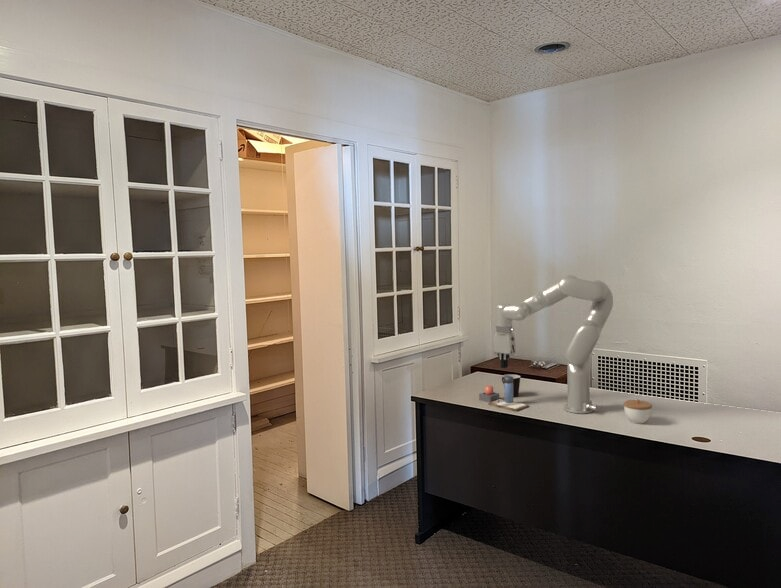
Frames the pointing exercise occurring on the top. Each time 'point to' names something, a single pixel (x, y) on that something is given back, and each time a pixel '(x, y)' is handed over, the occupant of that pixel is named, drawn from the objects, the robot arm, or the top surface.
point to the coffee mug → (515, 384)
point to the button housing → (489, 397)
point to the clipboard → (508, 405)
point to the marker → (508, 389)
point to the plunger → (488, 390)
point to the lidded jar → (637, 411)
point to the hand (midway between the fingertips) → (504, 367)
